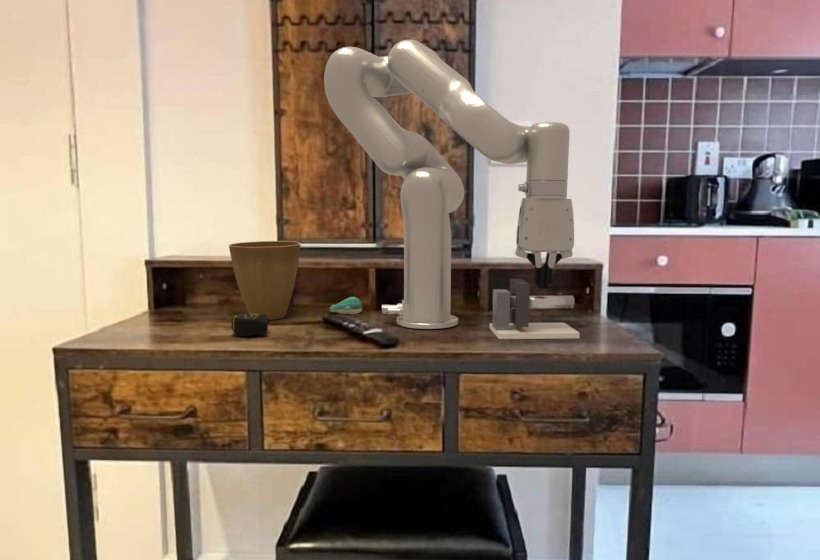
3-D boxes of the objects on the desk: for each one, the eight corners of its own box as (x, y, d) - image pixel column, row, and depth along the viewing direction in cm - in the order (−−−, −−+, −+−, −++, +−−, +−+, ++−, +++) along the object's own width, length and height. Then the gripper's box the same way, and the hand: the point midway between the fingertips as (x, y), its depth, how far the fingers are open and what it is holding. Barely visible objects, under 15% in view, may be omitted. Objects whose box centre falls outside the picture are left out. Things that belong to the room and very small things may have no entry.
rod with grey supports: (496, 330, 123) (496, 292, 122) (492, 326, 127) (493, 289, 126) (574, 329, 124) (576, 292, 123) (568, 325, 128) (569, 289, 127)
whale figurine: (363, 315, 144) (362, 298, 144) (329, 316, 143) (329, 299, 143) (361, 311, 150) (361, 294, 150) (329, 311, 149) (329, 295, 149)
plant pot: (245, 310, 149) (243, 240, 147) (309, 311, 148) (308, 241, 146) (220, 323, 134) (217, 245, 132) (291, 324, 133) (289, 246, 131)
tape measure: (267, 338, 121) (267, 318, 120) (229, 339, 120) (229, 319, 119) (269, 331, 128) (269, 312, 127) (233, 332, 127) (233, 312, 126)
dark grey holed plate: (517, 327, 121) (518, 284, 120) (509, 319, 129) (509, 278, 128) (528, 327, 121) (529, 284, 120) (519, 319, 129) (520, 278, 128)
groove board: (499, 339, 120) (499, 333, 120) (489, 328, 130) (489, 322, 130) (579, 338, 121) (579, 332, 121) (563, 327, 131) (564, 322, 130)
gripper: (510, 190, 118) (507, 290, 120) (592, 191, 119) (587, 291, 121) (502, 190, 125) (499, 285, 128) (579, 191, 126) (575, 285, 129)
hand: (542, 287), depth 124 cm, fingers closed
